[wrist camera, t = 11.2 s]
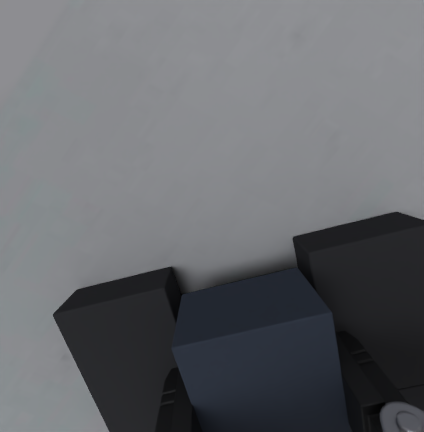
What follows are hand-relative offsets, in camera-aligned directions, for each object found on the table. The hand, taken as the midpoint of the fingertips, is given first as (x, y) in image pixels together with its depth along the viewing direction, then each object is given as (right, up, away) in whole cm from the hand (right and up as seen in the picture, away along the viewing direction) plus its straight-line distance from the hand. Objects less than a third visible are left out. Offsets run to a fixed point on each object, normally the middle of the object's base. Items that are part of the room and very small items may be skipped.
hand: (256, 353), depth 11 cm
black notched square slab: (+1, -2, +3) cm, 4 cm away
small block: (0, 0, 0) cm, 0 cm away
